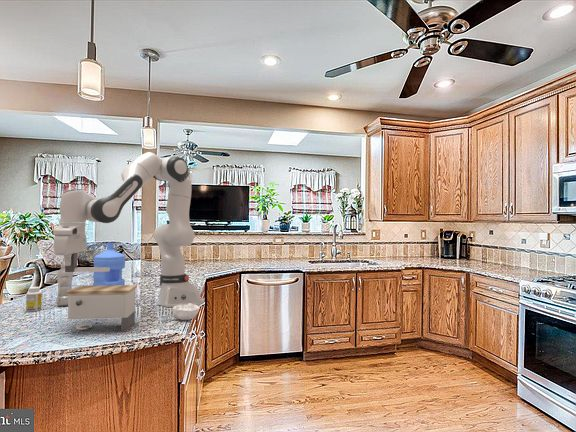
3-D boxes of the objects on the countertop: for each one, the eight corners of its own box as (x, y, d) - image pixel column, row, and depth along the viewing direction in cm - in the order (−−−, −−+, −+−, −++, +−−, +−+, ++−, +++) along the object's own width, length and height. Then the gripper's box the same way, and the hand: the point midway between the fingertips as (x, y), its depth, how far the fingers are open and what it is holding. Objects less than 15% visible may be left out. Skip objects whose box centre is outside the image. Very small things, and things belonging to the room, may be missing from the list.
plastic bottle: (64, 307, 159) (65, 264, 160) (52, 306, 161) (53, 263, 161) (76, 304, 166) (77, 262, 166) (64, 303, 167) (65, 262, 167)
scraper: (110, 270, 140) (110, 253, 140) (107, 271, 137) (108, 254, 137) (68, 271, 138) (69, 253, 138) (65, 272, 135) (65, 254, 135)
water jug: (86, 295, 185) (87, 243, 186) (106, 290, 201) (107, 241, 201) (112, 297, 183) (113, 244, 183) (130, 291, 198) (131, 242, 199)
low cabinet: (136, 323, 137) (137, 284, 137) (127, 332, 125) (128, 291, 125) (78, 324, 133) (79, 285, 134) (63, 335, 121) (64, 292, 122)
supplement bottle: (39, 308, 158) (40, 285, 158) (43, 310, 154) (43, 287, 154) (24, 310, 154) (25, 287, 154) (27, 312, 150) (28, 289, 150)
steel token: (93, 327, 131) (93, 323, 132) (88, 331, 127) (88, 327, 127) (79, 327, 131) (79, 323, 131) (73, 332, 126) (73, 327, 126)
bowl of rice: (184, 314, 151) (185, 298, 151) (205, 318, 145) (205, 302, 145) (165, 319, 142) (166, 303, 142) (186, 324, 136) (187, 307, 136)
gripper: (75, 229, 147) (74, 262, 146) (50, 230, 126) (49, 268, 126) (91, 229, 148) (90, 262, 147) (69, 230, 127) (68, 268, 127)
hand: (71, 264), depth 137 cm, fingers closed on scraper, 3 cm apart
